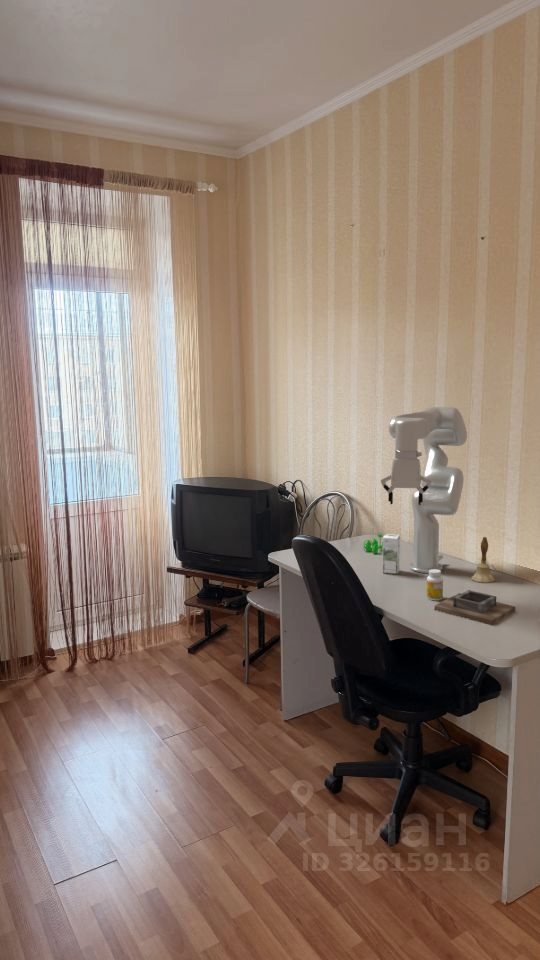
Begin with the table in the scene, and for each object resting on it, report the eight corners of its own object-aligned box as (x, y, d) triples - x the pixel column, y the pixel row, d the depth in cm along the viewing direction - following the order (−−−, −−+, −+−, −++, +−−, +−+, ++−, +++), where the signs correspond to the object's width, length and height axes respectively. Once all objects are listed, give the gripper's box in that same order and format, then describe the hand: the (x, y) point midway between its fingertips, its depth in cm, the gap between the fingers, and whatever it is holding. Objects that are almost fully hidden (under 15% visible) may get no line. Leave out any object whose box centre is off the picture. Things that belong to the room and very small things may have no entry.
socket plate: (459, 597, 238) (459, 584, 238) (515, 610, 225) (515, 597, 224) (434, 609, 227) (434, 596, 226) (491, 625, 213) (492, 611, 212)
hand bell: (477, 574, 262) (478, 533, 260) (498, 578, 257) (499, 536, 254) (467, 580, 256) (468, 538, 253) (489, 584, 251) (490, 541, 248)
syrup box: (399, 570, 270) (400, 534, 267) (397, 574, 264) (397, 537, 262) (385, 569, 272) (385, 533, 269) (382, 573, 266) (382, 537, 264)
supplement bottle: (424, 595, 241) (424, 568, 239) (439, 595, 241) (440, 568, 239) (429, 601, 235) (429, 573, 234) (444, 600, 236) (445, 572, 234)
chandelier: (357, 548, 303) (357, 532, 302) (389, 545, 307) (389, 530, 306) (370, 557, 289) (370, 541, 288) (403, 554, 293) (403, 538, 291)
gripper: (431, 454, 242) (430, 502, 244) (381, 453, 245) (380, 501, 248) (432, 457, 235) (431, 506, 237) (380, 456, 238) (379, 505, 241)
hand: (405, 504), depth 243 cm, fingers open, 9 cm apart
